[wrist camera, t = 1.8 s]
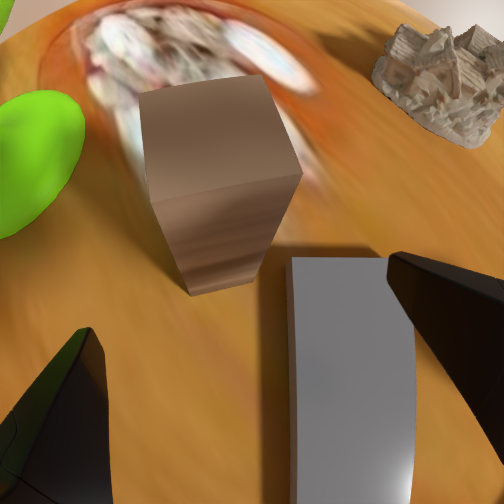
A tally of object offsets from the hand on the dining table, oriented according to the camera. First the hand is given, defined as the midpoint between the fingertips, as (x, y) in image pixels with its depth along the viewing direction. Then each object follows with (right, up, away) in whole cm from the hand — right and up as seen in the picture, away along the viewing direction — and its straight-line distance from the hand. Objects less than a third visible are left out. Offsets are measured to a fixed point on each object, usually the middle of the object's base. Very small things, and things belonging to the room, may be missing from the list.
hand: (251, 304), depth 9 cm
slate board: (+6, -8, +10) cm, 14 cm away
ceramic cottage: (+21, +20, +21) cm, 36 cm away
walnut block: (-2, +1, +12) cm, 12 cm away
